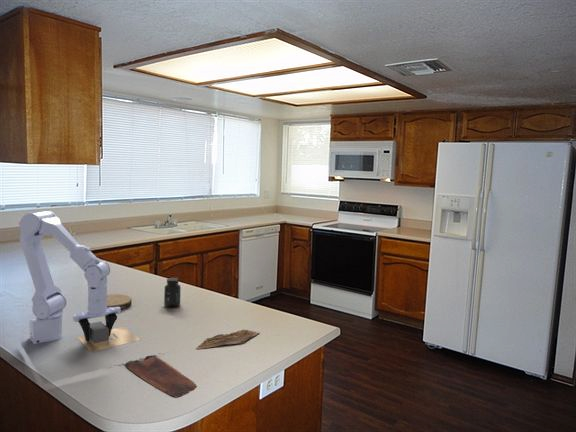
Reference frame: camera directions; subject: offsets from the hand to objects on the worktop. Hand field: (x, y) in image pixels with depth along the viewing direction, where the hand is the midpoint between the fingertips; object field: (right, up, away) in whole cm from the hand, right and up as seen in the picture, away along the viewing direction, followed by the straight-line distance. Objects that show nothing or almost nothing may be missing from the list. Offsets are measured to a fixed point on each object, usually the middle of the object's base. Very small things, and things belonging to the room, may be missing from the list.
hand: (97, 337), depth 140 cm
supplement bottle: (+13, +1, +43) cm, 45 cm away
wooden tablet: (+27, -7, -18) cm, 33 cm away
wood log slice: (-12, +2, +39) cm, 41 cm away
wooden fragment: (+42, -4, +9) cm, 44 cm away
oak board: (+2, -2, +3) cm, 4 cm away
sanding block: (0, -1, 0) cm, 1 cm away
